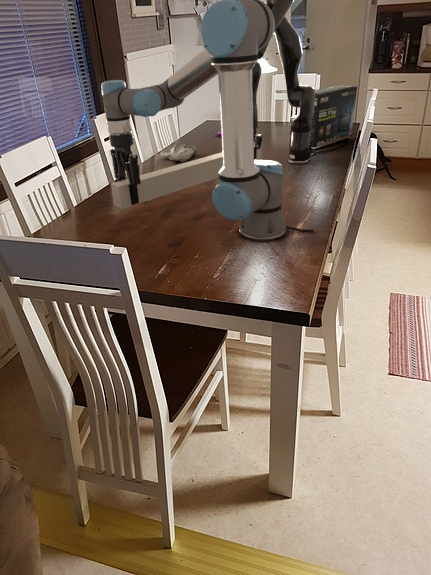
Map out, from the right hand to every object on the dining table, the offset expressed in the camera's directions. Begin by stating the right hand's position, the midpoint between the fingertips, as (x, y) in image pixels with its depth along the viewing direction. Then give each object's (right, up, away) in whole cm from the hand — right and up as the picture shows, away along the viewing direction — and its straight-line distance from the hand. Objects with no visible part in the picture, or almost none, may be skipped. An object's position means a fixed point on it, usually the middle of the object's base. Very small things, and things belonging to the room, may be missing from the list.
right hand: (248, 157), depth 191 cm
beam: (-22, -14, -15) cm, 30 cm away
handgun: (-7, +31, +71) cm, 78 cm away
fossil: (-32, +11, +38) cm, 51 cm away
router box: (+45, +23, +53) cm, 73 cm away
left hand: (-43, -24, -32) cm, 59 cm away
